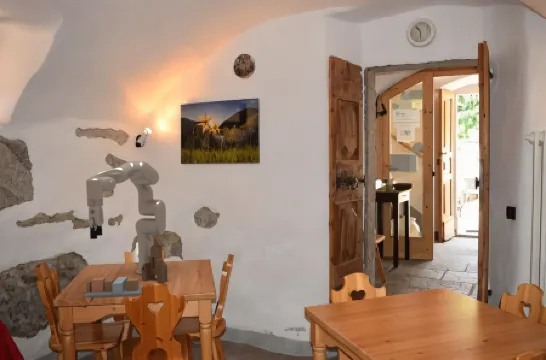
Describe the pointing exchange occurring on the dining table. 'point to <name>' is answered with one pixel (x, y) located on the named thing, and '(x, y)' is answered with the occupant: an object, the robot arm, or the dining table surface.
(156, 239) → the wooden toy
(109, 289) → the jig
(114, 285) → the blue-gray rectangular block
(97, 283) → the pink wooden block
